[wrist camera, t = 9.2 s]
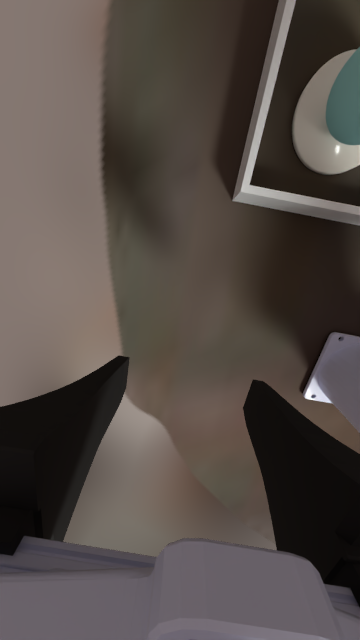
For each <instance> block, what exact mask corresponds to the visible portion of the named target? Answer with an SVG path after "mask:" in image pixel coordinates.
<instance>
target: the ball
mask: <svg viewBox="0 0 360 640" xmlns="http://www.w3.org/2000/svg"><path fill="white" fill-rule="evenodd" d="M326 123H327V127H328V130H329V132H330V134H331V135H332V136H333V137H334V138H335V139H336V140H337V141H339V142H340V143H343V144H347V145H360V47H359V48H358V49H357V50H356V51H355V52H354V53H353V55H352V56H351V57H350V58H349V59H348V61H347V62H346V63H345V65H344V66H343V68H342V69H341V71H340V72H339V74H338V76H337V78H336V80H335V82H334V84H333V86H332V88H331V91H330V94H329V97H328V100H327V105H326Z"/></svg>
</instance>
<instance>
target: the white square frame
mask: <svg viewBox="0 0 360 640" xmlns="http://www.w3.org/2000/svg"><path fill="white" fill-rule="evenodd" d="M295 2H296V0H279V2H278V6H277V10H276V15H275V19H274V23H273V27H272V32H271V36H270V40H269V45H268V49H267V53H266V58H265V62H264V66H263V70H262V75H261V79H260V83H259V88H258V92H257V96H256V101H255V105H254V109H253V113H252V118H251V122H250V126H249V131H248V135H247V139H246V144H245V148H244V152H243V156H242V161H241V165H240V169H239V174H238V178H237V182H236V187H235V191H234V195H233V199H232V201H236V202H241V203H247V204H252V205H257V206H262V207H267V208H272V209H277V210H282V211H287V212H292V213H298V214H303V215H308V216H313V217H318V218H323V219H328V220H333V221H338V222H344V223H349V224H354V225H359V226H360V207H358V206H353V205H348V204H343V203H338V202H333V201H328V200H323V199H318V198H313V197H308V196H303V195H298V194H293V193H288V192H282V191H277V190H272V189H267V188H262V187H257V186H252V185H250V181H251V177H252V173H253V169H254V165H255V161H256V157H257V153H258V149H259V145H260V141H261V137H262V133H263V129H264V125H265V121H266V117H267V113H268V109H269V105H270V101H271V97H272V93H273V89H274V86H275V82H276V78H277V74H278V70H279V66H280V62H281V58H282V54H283V50H284V46H285V42H286V38H287V34H288V30H289V26H290V22H291V18H292V14H293V10H294V6H295Z"/></svg>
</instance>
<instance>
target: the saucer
mask: <svg viewBox="0 0 360 640" xmlns="http://www.w3.org/2000/svg"><path fill="white" fill-rule="evenodd" d="M356 50H357V49H354V50H350V51H346V52H344V53H341V54H339V55H337V56H335V57H333V58H332V59H331V60H329V61H328V62H326V63H325V64H324V65H323V66H322V67H321V68H320V69H319V70H318V71H317V72H316V73H315V75H314V76H313V77H312V79H311V80H310V81H309V83H308V84H307V86H306V87H305V88H304V90H303V92H302V94H301V96H300V98H299V100H298V102H297V105H296V108H295V111H294V116H293V121H292V140H293V145H294V148H295V151H296V154H297V156H298V157H299V159H300V160H301V162H302V163H303V164H304V165H305V166H306V167H307V168H308V169H310V170H311V171H313V172H316V173H319V174H323V175H335V174H340V173H343V172H346V171H348V170H350V169H352V168H355V167H357V166H358V165H360V145H347V144H343V143H340V142H339V141H337V140H336V139H335V138H334V137H333V136H332V135H331V134H330V132H329V130H328V127H327V123H326V105H327V100H328V97H329V94H330V91H331V88H332V86H333V84H334V82H335V80H336V78H337V76H338V74H339V72H340V71H341V69H342V68H343V66H344V65H345V63H346V62H347V61H348V59H349V58H350V57H351V56H352V55H353V53H354V52H355V51H356Z"/></svg>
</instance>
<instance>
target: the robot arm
mask: <svg viewBox="0 0 360 640" xmlns="http://www.w3.org/2000/svg"><path fill="white" fill-rule="evenodd" d="M339 337H341V339H339ZM338 339H339V340H338ZM128 366H129V357H124V356H117V357H116V358H114V359H113V360H111V361H110V362H108V363H107V364H105V365H104V366H102V367H100V368H99V369H97V370H96V371H94V372H92V373H90V374H89V375H87V376H85V377H83V378H81V379H80V380H78V381H76V382H73V383H71V384H69V385H67V386H65V387H62V388H60V389H58V390H55V391H52V392H49V393H47V394H44V395H41V396H38V397H35V398H32V399H29V400H25V401H22V402H18V403H15V404H11V405H7V406H3V407H0V640H360V454H359V453H357V452H355V451H354V450H352V449H350V448H349V447H347V446H346V445H344V444H342V443H341V442H339V441H338V440H336V439H335V438H333V437H332V436H330V435H329V434H328V433H326V432H325V431H323V430H322V429H321V428H319V427H318V426H316V425H315V424H314V423H312V422H311V421H310V420H309V419H307V418H306V417H305V416H304V415H302V414H301V413H300V412H299V411H298V410H296V409H295V408H294V407H293V406H292V405H290V404H289V403H288V402H287V401H286V400H285V399H284V398H282V397H281V396H280V395H279V394H278V393H277V392H276V391H275V390H273V389H272V388H271V387H270V386H269V385H267V384H266V383H265V382H263V381H258V380H253V381H252V384H251V387H250V390H249V392H248V395H247V398H246V401H245V404H244V407H243V410H244V416H245V421H246V426H247V429H248V432H249V435H250V439H251V442H252V445H253V448H254V451H255V454H256V457H257V460H258V463H259V466H260V470H261V473H262V477H263V481H264V486H265V490H266V494H267V499H268V504H269V509H270V514H271V519H272V524H273V530H274V536H275V541H276V547H277V550H271V549H264V548H258V547H252V546H246V545H240V544H234V543H228V542H222V541H215V540H209V539H203V538H183V539H180V540H177V541H175V542H172V543H169V544H168V545H167V546H166V547H165V548H164V549H163V550H162V551H161V553H160V554H159V555H158V557H153V556H147V555H140V554H135V553H129V552H122V551H116V550H110V549H103V548H97V547H91V546H85V545H79V544H72V543H66V542H63V540H64V537H65V534H66V531H67V528H68V526H69V523H70V520H71V517H72V514H73V512H74V509H75V506H76V503H77V501H78V498H79V496H80V493H81V490H82V487H83V485H84V482H85V480H86V477H87V474H88V472H89V469H90V467H91V464H92V462H93V459H94V456H95V454H96V451H97V449H98V447H99V445H100V442H101V440H102V438H103V436H104V434H105V432H106V430H107V428H108V426H109V424H110V422H111V421H112V418H113V417H114V415H115V413H116V411H117V409H118V407H119V405H120V403H121V400H122V397H123V395H124V392H125V389H126V384H127V375H128ZM313 394H314V395H313ZM312 395H313V396H312ZM303 396H304V397H305V398H306V399H310V400H316V401H322V402H327V403H333V404H334V405H335V406H336V408H337V409H338V410H339V411H340V412H341V413H342V414H343V415H344V416H345V417H346V418H347V420H348V421H349V422H350V423H351V424H352V425H353V426H354V427H355V428H356V429H357V430H358V431H359V433H360V337H359V336H354V335H348V334H343V333H338V332H333V333H331V334H330V335H329V337H328V339H327V341H326V344H325V346H324V348H323V350H322V352H321V355H320V357H319V359H318V361H317V363H316V365H315V368H314V370H313V372H312V374H311V376H310V379H309V381H308V383H307V385H306V387H305V389H304V392H303Z"/></svg>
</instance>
